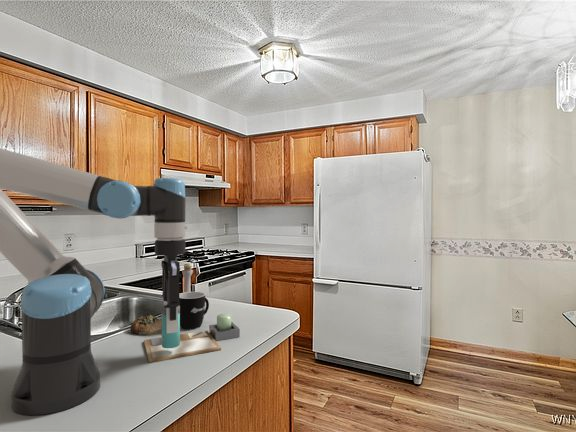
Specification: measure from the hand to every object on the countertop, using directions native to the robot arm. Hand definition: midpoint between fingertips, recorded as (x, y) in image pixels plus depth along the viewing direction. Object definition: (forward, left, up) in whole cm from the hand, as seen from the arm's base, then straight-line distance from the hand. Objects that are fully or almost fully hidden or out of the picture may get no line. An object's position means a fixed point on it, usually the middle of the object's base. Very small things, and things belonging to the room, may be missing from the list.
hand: (170, 328), depth 92 cm
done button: (+17, +8, -5) cm, 19 cm away
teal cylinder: (0, 0, -4) cm, 4 cm away
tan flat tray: (+4, +5, -7) cm, 9 cm away
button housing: (+17, +8, -7) cm, 20 cm away
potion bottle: (+11, +33, -7) cm, 35 cm away
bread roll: (-3, +23, -7) cm, 24 cm away
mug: (+11, +21, -7) cm, 24 cm away
